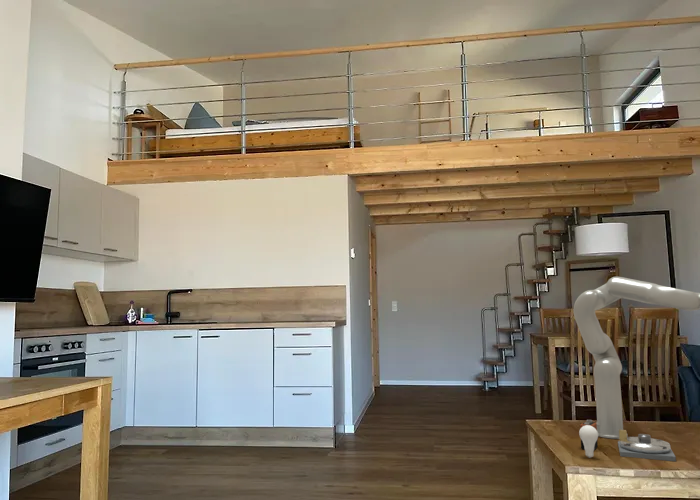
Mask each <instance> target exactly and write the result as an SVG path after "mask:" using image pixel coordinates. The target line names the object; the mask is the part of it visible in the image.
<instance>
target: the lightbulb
mask: <svg viewBox="0 0 700 500" xmlns="http://www.w3.org/2000/svg"><path fill="white" fill-rule="evenodd" d="M578 434H579V438H580V441H581V440H582V441H583V444H584V449H585V450H584V452H585V456H586V457H587V458H589V459H591V458H593V457H594V455H595V454H594V453H595V452H594V451H595V449H594V445H595V443H596V441H597V442H598V438H599V436H598V432H597V430H596V429H595V428H594V427H592V426H590V425H585V426H583V427H582V428H581V429H580V428H579V432H578Z"/></svg>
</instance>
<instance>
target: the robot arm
mask: <svg viewBox="0 0 700 500" xmlns="http://www.w3.org/2000/svg"><path fill="white" fill-rule="evenodd" d="M620 299H625V300H631V301H636V302H640V303H645V304H650V305H658V306H664V307H668V308H674V309H679V310H682V311H688V312H692V311H700V292H695V291H692V290H691V291H690V290H685V289H682V288H681V289H680V288H675V287H670V286H665V285H660V284H657V283H655V282H649V281H643V280H638V279H632V278H629V277H628V278H627V277H623V276H613V277H611V278H609V279H608V280H607V282H606V283H604V284H603V285H601V286H599V287H597V288H595V289H588V290H585V291H584V292H582V293H580V294H579V296H578V297H577V298H576V300H575V302H574V304H573V318H574V319H575V322H576V323H575V324H576V325H577V327H578V330H579V332H580V336H581V337H582V341H583V343H584V346H585V348H586V350H587V352H589V353H590V355H592V356H593V360H594V361H595V363H594V366H593V378H594V385H595V386H594V387H595V402H596V404H595V405H596V422H595V423H596V424H597V432H598V438H599V437H601V438H604V439H614V440H615V439H616V440H617V439H618V440H619V429H620V430H624V424H623V423H624V422H623V421H624V419H623V406H622V401H623V400H622V390H621V389H622V388H621V387H622V386H621V374H622V371H623V364H622V363H621V359H620V357H619V354H618V352H617V350H616V347H615V346H614V344H613V341H612V339H611V338H610V336H608V335H607V333H605V332H604V331H603V329H602V327H601V324H600V321H599V319H598V317H597V314H596V311H599V310H601V309H603V308H605V307H607V306H609V305H611V304H612V303H614V302H616V301H619V300H620ZM627 437H629V436H628V433H627Z"/></svg>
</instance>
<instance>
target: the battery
mask: <svg viewBox="0 0 700 500" xmlns="http://www.w3.org/2000/svg"><path fill="white" fill-rule="evenodd" d="M585 425H590V426H592V427H594V428H595V429H596V430H597V424H596V422H594V421H593V420H592V419H586V421H584V422H582V423H581V424H580V425H579V427H580V428H579V430H580V429H581V428H582V427H583V426H585ZM598 443H599V442H598V440H597V441H596V443H595V445H594V450H596V449H597V448H598V447H599V445H598ZM580 447H581V450H584V451H585V449H584V444H583V441H582V440H581V439H580Z"/></svg>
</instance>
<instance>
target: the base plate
mask: <svg viewBox="0 0 700 500" xmlns="http://www.w3.org/2000/svg"><path fill="white" fill-rule="evenodd" d="M617 446H618V451H619V455H620V457H626V458H636V459H637V458H638V459H646V460H657V461H658V460H659V461H670V462H677V459H676V458H677V457H676V455H675V453H674V451H673V450H672V449H671V451H670V452H668V453H643V452H636V451H631V450H628V449H625V448H623V447H621V446H620V440H618V441H617Z"/></svg>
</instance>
